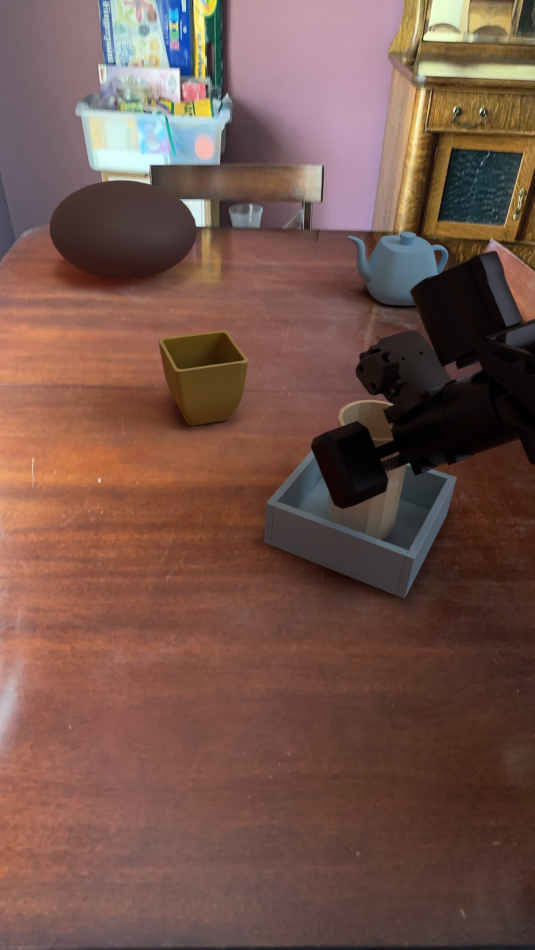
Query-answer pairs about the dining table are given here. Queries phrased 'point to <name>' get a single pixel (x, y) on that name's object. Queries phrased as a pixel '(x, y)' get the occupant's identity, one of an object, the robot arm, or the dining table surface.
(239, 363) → the flower pot
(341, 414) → the tumbler
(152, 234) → the smooth stone
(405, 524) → the tub
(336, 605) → the dining table surface
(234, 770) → the dining table surface
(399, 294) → the teapot
